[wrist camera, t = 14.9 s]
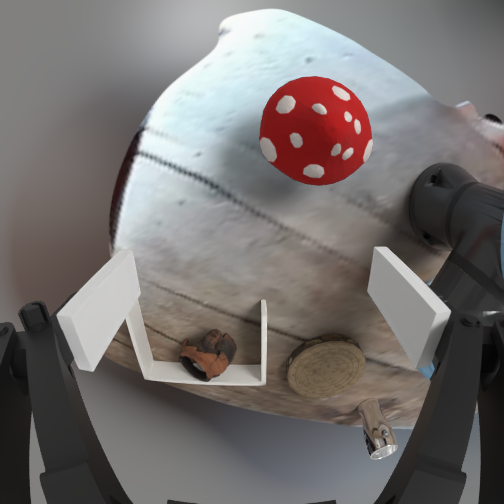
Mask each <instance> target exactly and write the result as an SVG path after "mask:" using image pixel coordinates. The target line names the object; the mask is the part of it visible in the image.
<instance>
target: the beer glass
mask: <svg viewBox="0 0 504 504" xmlns="http://www.w3.org/2000/svg"><path fill="white" fill-rule="evenodd" d="M357 411H358V413H359V414H360V416H361V418H362V422H363V432H364V440H365V443H366V447H367V450H368V452H369V455H370V458H371V459H380V458H384V457H386V456H389V455H390V454H392V453H393V452H395V451H396V449H397V448H398V446H397V442H396V438H395V435H394V432H393V430H392V427H391V426H390V424H389V422H388V421H387V419H386V418H385V416H384V415H383V413H382V410H381V405H380V401H379V400H378V399H376V398H372V399H368V400H365V401H364V402H362V403H361V404H360V405H359V406H358V408H357Z"/></svg>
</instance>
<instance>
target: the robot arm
mask: <svg viewBox="0 0 504 504" xmlns="http://www.w3.org/2000/svg"><path fill="white" fill-rule="evenodd" d="M409 215H410V221H411V225H412V227H413V230H414V232H415V233H416V235H417V236H418V237H419V238H420V239H421V240H422V241H423V242H424V243H426V244H427V245H429V246H430V247H432V248H434V249H438V250H444V251H451V253H450V255H449V257H448V258H447V259H446V261H445V263H444V264H443V266H442V268H441V269H440V271H439V272H438V274H437V275H436V277H435V279H434V280H433V282H432V283H431V285H430V286H429V285H426V284H425V283H424V282H423V281H422V280H421V279H420V278H419V277H418V276H417V275H416V274H415V273H414V272H413V271H412V270H411V269H410V268H408V267H407V266H406V265H405V264H404V263H403V262H402V261H401V260H400V259H399V258H398V257H397V256H396V255H395V254H394V253H393V252H392V251H390V250H389V249H388V248H387V247H374V252H373V259H372V265H371V272H370V278H369V284H368V289H367V292H368V293H369V295H370V297H371V298H372V300H373V301H374V303H375V304H376V306H377V307H378V309H379V310H380V312H381V313H382V315H383V317H384V318H385V320H386V321H387V323H388V325H389V326H390V328H391V329H392V331H393V333H394V334H395V336H396V337H397V339H398V341H399V342H400V344H401V346H402V347H403V349H404V351H405V352H406V354H407V356H408V357H409V359H410V361H411V363H412V364H413V366H414V368H415V369H418V370H419V371H420V372H421V373H422V375H423V376H424V377H426V378H429V379H430V381H431V384H430V387H429V390H428V393H427V396H426V398H425V401H424V404H423V407H422V409H421V412H420V414H419V417H418V420H417V422H416V424H415V427H414V429H413V432H412V434H411V437H410V438H409V441H408V443H407V445H406V447H405V450H404V452H403V454H402V456H401V458H400V460H399V462H398V464H397V466H396V468H395V469H394V471H393V473H392V475H391V477H390V479H389V481H388V483H387V484H386V486H385V488H384V489H383V491H382V493H381V494H380V496H379V497H378V499H377V500H376V501H375V503H374V504H458V503H459V500H460V498H461V495H462V492H463V489H464V486H465V482H466V473H464V472H462V471H461V468H462V464H463V461H464V457H465V453H466V450H467V446H468V442H469V438H470V433H471V429H472V424H473V419H474V414H475V408H476V402H478V412H479V425H480V444H481V471H480V491H479V503H478V504H504V190H501V189H498V188H495V187H492V186H489V185H486V184H482V183H479V182H478V181H477V180H476V179H475V178H474V177H473V176H472V175H471V174H469V173H468V172H467V171H466V170H465V169H463V168H462V167H460V166H457V165H454V164H450V163H437V164H434V165H432V166H430V167H429V168H427V169H426V170H425V171H424V172H423V173H422V174H421V175H420V176H419V178H418V179H417V181H416V183H415V185H414V187H413V190H412V193H411V197H410V203H409ZM453 263H454V264H453ZM456 265H457V266H458V267H457V266H456ZM461 269H462V270H463V271H462V270H461ZM466 273H467V274H468V275H467V274H466ZM471 277H472V278H473V279H472V278H471ZM477 282H478V283H479V284H478V283H477ZM484 288H485V289H484ZM140 295H141V292H140V287H139V282H138V277H137V272H136V267H135V261H134V255H133V250H120V251H119V252H118V253H117V254H116V255H115V256H114V257H113V258H112V259H111V260H110V261H108V262H107V263H106V264H105V265H104V266H103V267H102V268H101V269H100V270H99V271H98V272H97V273H96V274H95V275H94V276H93V277H92V278H91V279H90V280H89V281H88V282H87V283H86V284H85V285H84V286H83V287H82V288H81V289H80V290H78V291H77V292H75V293H74V294H72V295H71V296H70V297H69V298H68V299H67V300H66V302H64V303H63V304H62V305H61V306H60V307H59V308H58V309H57V310H56V312H54V313H53V315H52V316H51V317H50V316H49V313H48V311H47V308H46V305H45V303H44V302H42V301H34V302H31V303H28V304H26V305H25V306H23V307H22V308H21V309H20V310H19V313H18V314H19V317H20V319H21V322H22V324H23V327H24V329H25V331H22V332H16V330H15V328H14V325H13V324H12V323H10V322H5V323H0V504H31V498H30V479H29V445H30V426H31V414H32V412H33V417H34V423H35V429H36V433H37V438H38V442H39V446H40V451H41V455H42V458H43V461H44V465H45V470H46V471H45V472H44V473H41V474H40V482H41V486H42V489H43V492H44V495H45V498H46V501H47V504H133V503H132V502H131V500H130V499H129V498H128V496H127V495H126V493H125V491H124V490H123V488H122V486H121V484H120V482H119V481H118V479H117V477H116V475H115V473H114V471H113V469H112V467H111V465H110V463H109V461H108V459H107V457H106V455H105V453H104V451H103V449H102V446H101V444H100V442H99V440H98V438H97V435H96V433H95V431H94V428H93V426H92V424H91V421H90V418H89V416H88V413H87V410H86V408H85V405H84V402H83V399H82V397H81V394H80V391H79V388H78V385H77V381H76V379H75V375H74V372H73V369H72V367H71V365H70V364H71V362H72V361H73V359H75V362H76V364H77V366H78V368H79V369H82V370H87V371H92V372H93V371H94V369H95V368H96V366H97V364H98V363H99V361H100V359H101V357H102V356H103V354H104V352H105V351H106V349H107V347H108V346H109V344H110V342H111V341H112V339H113V337H114V336H115V334H116V332H117V331H118V329H119V327H120V326H121V324H122V323H123V321H124V319H125V318H126V316H127V315H128V313H129V312H130V310H131V308H132V307H133V305H134V304H135V302H136V301H137V299H138V298H139V296H140ZM492 295H493V296H492ZM501 303H502V304H501ZM167 504H196V503H187V502H180V501H173V500H168V501H167ZM309 504H336V500H332V501H325V502H318V503H309Z"/></svg>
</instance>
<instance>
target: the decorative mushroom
mask: <svg viewBox="0 0 504 504" xmlns="http://www.w3.org/2000/svg"><path fill="white" fill-rule="evenodd" d="M259 143H260V146H261V150H262V152H263V154H264V156H265V157H266V159H267V160H268V162H270V163H271V164H272V165H274V166H275V167H276V168H277V169H279V170H280V171H281V172H282V173H284V174H286V175H287V176H289V177H290V178H292V179H293V180H296V181H299V182H302V183H304V184H310V185H319V186H320V185H328V184H333V183H336V182H338V181H341V180H344V179H345V178H347V177H348V176H349V175H351V174H352V173H354V172H355V171H356V170H357V169H358V168H359V167H360V166H361V165H363V164H364V163H365V162H366V161H367V159H368V157H369V155H370V153H371V150H372V146H373V141H372V134H371V126H370V122H369V118H368V115H367V112H366V110H365V108H364V107H363V105H362V103H361V101H360V100H359V99H358V98H357V97H356V95H355V94H354V93H353V92H352V91H351V90H349V89H348V88H346V87H345V86H344V85H342V84H341V83H338V82H336V81H334V80H331V79H329V78H323V77H317V76H312V77H301V78H298V79H295V80H292V81H289V82H288V83H286V84H285V85H283V86H282V87H280V88H279V89H278V90H277V91H276V92H275V93H274V94H273V95H272V96H271V97H270V99H269V100H268V102H267V104H266V106H265V108H264V110H263V115H262V120H261V126H260V137H259Z"/></svg>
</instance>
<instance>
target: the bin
mask: <svg viewBox="0 0 504 504" xmlns="http://www.w3.org/2000/svg"><path fill="white" fill-rule="evenodd" d="M126 322H127V326H128V329H129V333H130V336H131V339H132V343H133V346H134V349H135V352H136V355H137V358H138V361H139V364H140V367H141V370H142V373H143V376H144V378H145V379H146V380H154V381H164V382H175V383H189V384H207V385H266V351H267V308H266V300H261V365H229V366H228V367H227V369H226V371H224V372H223V373H222V374H220V376H218V377H215V378H211V380H210V381H209V382H203V381H200V380H198V379H196V378H195V377H193V376H192V375H191V374H190V373H189V372H188V371H187V370H186V369H185V368H184V367H183V366H182V364H181V363H178V362H164V361H154V359H153V356H152V352H151V349H150V345H149V341H148V338H147V334H146V330H145V326H144V322H143V318H142V314H141V310H140V305H139V301H138V299H137V301H136V302H135V304H134V305H133V307H132V308H131V310H130V312H129V313H128V315H127V316H126ZM193 365H194V366H196V367H197V368H198V369H199V370H201V371H203V372H205V371H204V369H203V368H202V367H201V366H200V365H199V364H196V363H193ZM206 376H207V375H206Z"/></svg>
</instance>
